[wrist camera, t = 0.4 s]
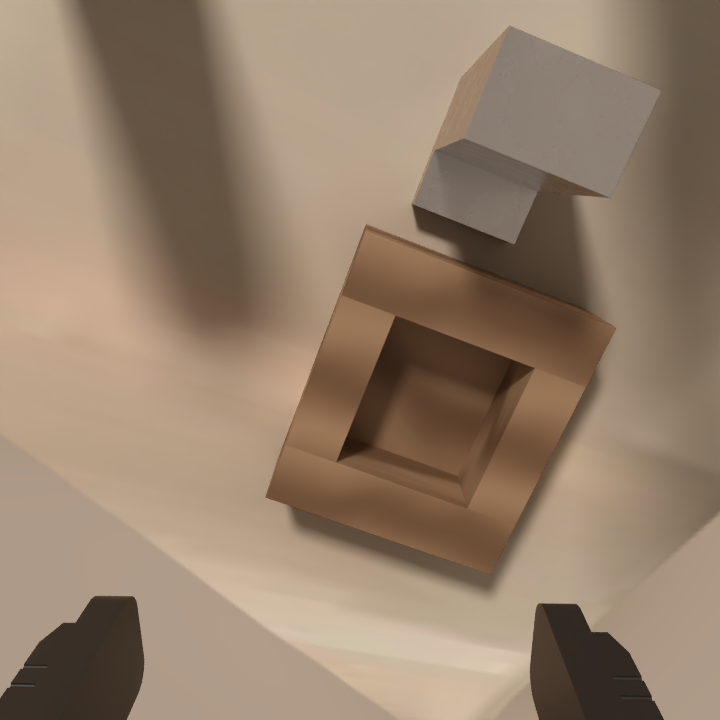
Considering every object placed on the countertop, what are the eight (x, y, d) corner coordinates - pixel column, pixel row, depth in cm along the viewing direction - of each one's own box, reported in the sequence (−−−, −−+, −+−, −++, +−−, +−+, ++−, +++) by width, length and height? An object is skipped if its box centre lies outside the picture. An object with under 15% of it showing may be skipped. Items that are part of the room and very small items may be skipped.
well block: (365, 224, 36) (365, 230, 31) (587, 310, 37) (616, 328, 33) (276, 462, 40) (265, 497, 36) (477, 532, 41) (490, 574, 37)
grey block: (460, 77, 33) (509, 25, 22) (562, 120, 34) (661, 90, 22) (411, 203, 35) (432, 215, 24) (508, 241, 36) (574, 272, 24)
